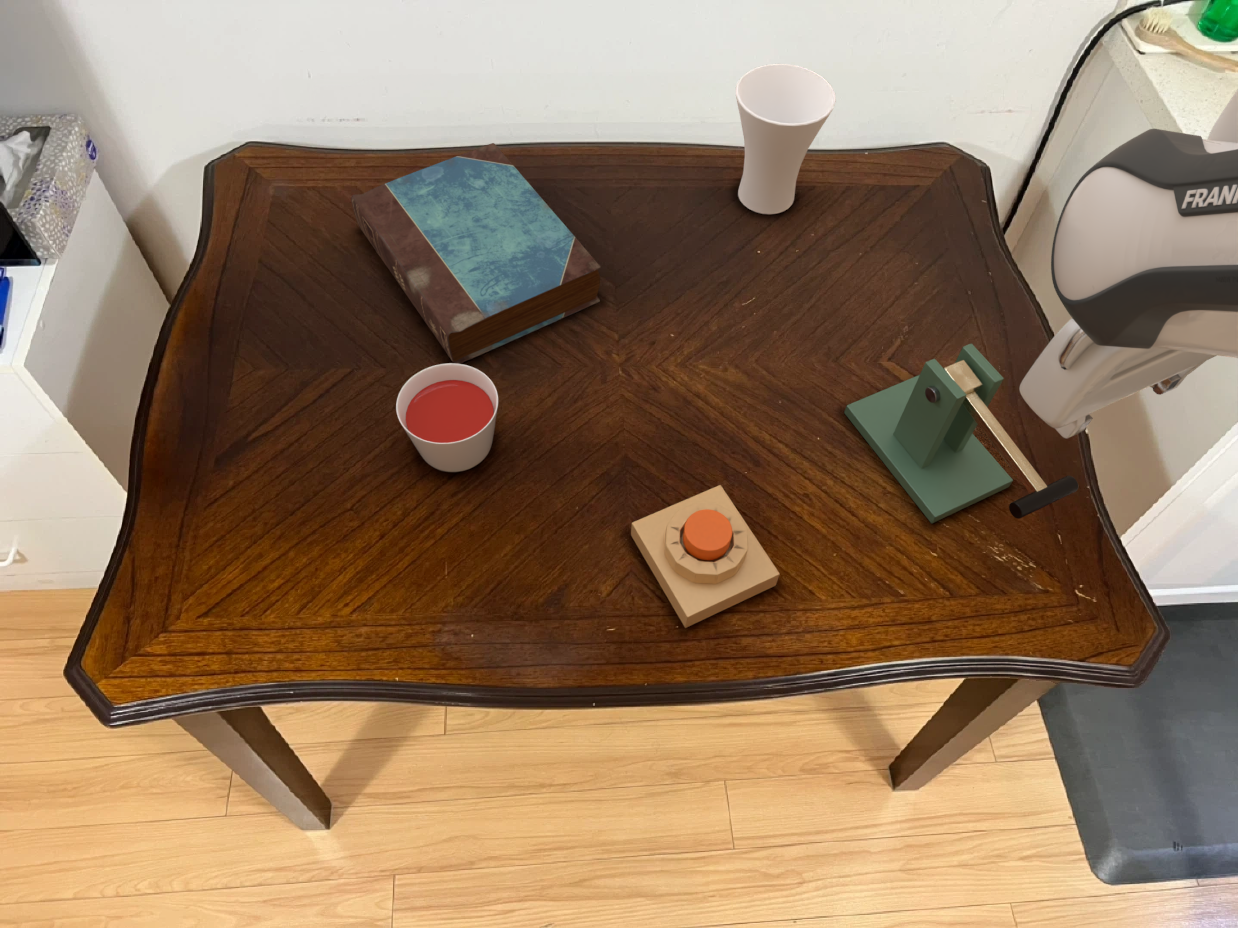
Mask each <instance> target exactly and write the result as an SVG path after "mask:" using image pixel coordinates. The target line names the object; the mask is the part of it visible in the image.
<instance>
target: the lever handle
mask: <svg viewBox="0 0 1238 928" xmlns="http://www.w3.org/2000/svg"><path fill="white" fill-rule="evenodd" d="M943 368H944V370H945V371H946V372H947V373H948V374H949V375H950V376H951V378H952V379H953V380H954V381H955V382H956V383H957V384H958V385H959V387H960V388H961V389H962V390H963V391H964V392H965V393H966V394H967V395H966V397H965V399H964V401H963V403H962V404H963V405H964V407H965V408H966V409H967V411H968V412H969V413H970V415H971V416H972V417H973V419H974V420H975V421H976V423H977V424H978V425H977V426H978V427H979V428H980V429H981V431H982V433H984V435H985V436H986V437H987V439H988V440H989V441H990V443H991V444H992V445H993V446H994V448H995V449H996V450H997V452H998V453H999V455H1000V456H1001V457H1002V459H1003V460H1004V461H1005V463H1006V464H1007V465H1008V467H1009V468H1010V469H1011V471H1012V473H1014V475H1015V476H1016V477H1017V479H1018V480H1019V482H1020V483H1021V484H1022V486H1023V487H1024V488H1025V489H1026V490H1027V492H1028V494H1026V495H1024V496H1023V497H1020V498H1018V499H1015V500H1013V501H1011V502H1010V503H1009V504H1008V510H1009V512H1010V514H1011V515H1012V517H1013V518H1015V519H1017V520H1019V519H1023V518H1025V517H1027V516H1028V515H1031V514H1033V513H1035V512H1036V511H1038V510H1041V509H1043V508H1045V507H1047V506H1049V505H1051V504H1053V503H1055V502H1057V501H1059V500H1061V499H1063V498H1065V497H1067V496H1069V495H1071V494H1073V493H1077V491H1078V489H1079V483H1078V481H1077V479H1076V478H1075V477H1074V476H1073V475H1065V476H1064V477H1062V478H1059V479H1057V480H1055V481H1053V482H1051V483H1049V484H1046V482H1045V481H1044V480H1043V479H1042V478H1041V476H1040V474H1039V473H1038V472H1037V471H1036V469H1035V468H1034V467H1033V466H1032V464H1031V463H1030V462H1029V460H1028V459H1027V458H1026V456H1025V455H1024V454H1023V452H1022V451H1021V450H1020V448H1019V447H1018V445H1016V443H1015V442H1014V440H1013V439H1012V438H1011V437H1010V435H1009V434H1008V433H1007V432H1006V430H1005V428H1004V427H1003V426H1002V425H1001V424H1000V422H999V421H998V420H997V418H996V417H995V416H994V414H993V413H992V412H991V411H990V409H989V408H988V407H986V405H985V404H984V403H983V401H982V400H981V399H980V397H979V396H978V395H977V393H976V392H977V391H978V390H979V388H980V387H981V386H982V383H981V381H980V380H979V379H978V377H977V376H976V375H975V373H974V372H973V371H972V370H971V368H970V367H969V366H968V364H967V363H966V362H965V360H962V361H959V362H957V363H955V362H954V363H952V364H950V365H947V366H945V367H943Z"/></svg>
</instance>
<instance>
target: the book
mask: <svg viewBox="0 0 1238 928" xmlns="http://www.w3.org/2000/svg"><path fill="white" fill-rule="evenodd" d="M350 199H351V200H350V201H351V206H352V210H353V213H354V216H355V220H356V222H357V225H358V227H359V229H360V230H361V232H362V233H363V235H364V236H365V237H366V239H367V240H368V242H369V243H370V245H371V247H372V248H373V249H374V250H375V252H376V253H377V255H378V256H379V258H380V259H381V260H382V262H383V263H384V265H385V266H386V268H387V269H388V271H389V272H390V273H391V275H392V276H393V278H394V279H395V281H396V282H397V284H398V285H399V286H400V288H401V290H402V291H403V292H404V294H405V295H406V296H407V298H408V299H409V301H410V302H411V304H412V305H413V307H414V308H415V309H416V311H417V312H418V314H419V315H420V317H421V318H422V320H423V321H424V322H425V324H426V326H427V327H428V328H429V330H430V331H431V333H432V334H433V335H434V337H435V338H436V340H437V341H438V342H439V345H440V346H441V347H442V348H443V350H444V352H445V353H446V354H447V356H448V357H449V358H450V360H451V361H452V363H455V364H463V363H464V362H467V361H469V360H472V359H474V358H477V357H479V356H482V355H484V354H485V353H488V352H491V351H493V350H495V349H497V348H499V347H502V346H504V345H506V344H509V343H511V342H513V341H515V340H518V339H519V338H522V337H524V336H526V335H529V334H531V333H533V332H535V331H538V330H540V329H543V328H545V327H547V326H549V325H551V324H554V323H556V322H558V321H560V320H562V319H564V318H566V317H569V316H571V315H574V314H575V313H578V312H580V311H582V310H584V309H587V308H589V307H591V306H594V305H596V304H598V303H600V302H601V299H600V298H599V297H598V294H599V290H600V286H601V276H600V273H599V269H601V265H600V264H599V262H597V261H596V260H595V258H594V257H593V256H592V255H591V254H590V252H589V251H588V250H587V249H586V248H585V246H584V245H582V243H581V242H580V241H579V240H578V239H577V237H576V236H575V235H574V233H572V231H571V230H570V229H569V228H568V227H567V225H565V224H564V222H563V221H562V220H561V219H560V218H559V216H558V215H557V214H556V213H555V212H554V211H553V209H552V208H551V207H550V206H549V205H548V203H546V201H544V199H543V198H542V197H541V196H540V194H539V193H538V192H537V191H536V190H535V189H534V188H533V187H532V185H531V184H530V182H529V181H528V180H527V179H526V178H525V177H524V176H523V175H522V173H520V171H519V170H518V169H517V168H516V167H515V165H514V164H513V163H512V162H511V160H510V159H508V157H507V156H506V155H505V154H504V153H503V152H502V150H501V149H500V148H499V146H498V145H497V144H495V142H492V143H489V144H486V145H483V146H480V147H478V148H475V149H472V150H471V151H467V152H464V153H462V154H459V155H457V156H453V157H450V158H448V159H445V160H443V161H441V162H438V163H436V164H433V165H430V166H427V167H424V168H422V169H419V170H416V171H414V172H411V173H409V174H406V175H403V176H401V177H398V178H395V179H393V180H391V181H388V182H386V183H383V184H381V185H379V186H376V187H374V188H371V189H370V190H368V191H366V192H364V193H362V194H352V195H351V198H350Z"/></svg>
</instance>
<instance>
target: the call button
mask: <svg viewBox="0 0 1238 928" xmlns="http://www.w3.org/2000/svg"><path fill="white" fill-rule="evenodd" d="M705 509H709V510H715V511H717V512H720V513H721V514H723V515H724V516H725V517H726V518H727V519H728V520H729V522H730V524H731V526H732V538H731V542H730V546H729V548H728V550H727V552H726V553H725V554H724V555H723V556H721V557H720V558H718V559H715V560H701V559H698V558H696V557H694V556H692V555H691V554H690V553H689V552H688V551H687V549H686V548H685V546H684V543H683V533H684V527H685V523H686V521H687V519H688V518H689V516H691V515H692V514H693V513H695V512H697V511H699V510H705ZM630 536H631V538H632V539H633V541H634V543H635V545H636V547H637V548H638V550H639V552H640V553H641V555H642V557H643V558H644V560H645V562H646V564H647V565H648V567H649V569H650V571H651V572H652V574H653V576H654V577H655V579H656V580H657V582H658V584H659V586H660V588H661V589H662V591H663V593H664V594H665V596H666V597H667V599H668V602H669V603H670V605H671V606H672V608H673V609H674V611H675V613H676V615H677V617H678V619H679V620H680V622H681V623H682V625H683V627H684V629H687V628H688V627H690V626H693V625H695V624H697V623H699V622H702V621H703V620H706V619H708V618H710V617H712V616H714V615H716V614H719V613H720V612H723V611H725V610H727V609H729V608H731V607H733V606H735V605H737V604H739V603H742V602H744V601H746V600H748V599H750V598H753V597H754V596H757V595H759V594H761V593H763V592H765V591H767V590H769V589H771V588H773V587H776V585H777V583H778V581H779V577H780V574H781V573H780V572H779V570H778V569H777V567H776V566H775V564H774V563H773V561H772V560H771V558H770V556H769V555H768V554H767V552H766V551H765V550H764V548H763V546H762V545H761V543H760V541H759V540H758V539H757V537H756V536H755V534H754V533H753V532H752V530H751V528H750V527H749V526H748V524H747V522H746V521H745V519H744V518H743V516H742V515H741V513H740V512H739V511H738V509H737V508H736V506H735V504H734V503H733V501H732V500H731V498H730V497H729V495H728V494H727V492H726V491H725V490H724V488H723V486H722V485H721V484H719V485H717V486H715V487H714V486H713V487H712V488H710V489H707V490H704V491H703V492H700V493H698V494H695V495H693V496H690V497H688V498H686V499H684V500H682V501H679V502H676V503H674V504H672V505H670V506H667V507H665V508H663V509H661V510H658V511H656V512H654V513H651V514H649V515H647V516H644V517H642V518H640V519H638V520H635V521H633V522H631V528H630Z"/></svg>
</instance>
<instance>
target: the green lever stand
mask: <svg viewBox="0 0 1238 928" xmlns="http://www.w3.org/2000/svg"><path fill="white" fill-rule="evenodd" d="M962 360H965V362H966V363H967V364H968V366H969V367H970V368H971V370H972V371H973V372H974V373H975V375H976V376H977V377H978V379H979V380H980V381H981V383H982V386H981V387H980V388H979V390H978V391H977V392H976V393H977V395H978V396H979V397H980V399H981V400H982V401H983V403H984V404H985V405H986V407H987V408H988V407H989V405H990V404H991V402H992V400H993V399H994V397H995V395H996V393H997V392H998V390H999V388H1000V386H1001V385H1002V382H1003V381H1004V379H1005V377H1003V376H1002V374H1000V373H999V371H998V370H997V369H996V368H995V367H994V366H993V365H992V364H991V363H990V362H989V360H987V358H986V357H985V356H984V355H983V354H982V353H981V352H980V351H979V350H978V349H977V347H976V346H975V345H974V344H973V343H969V344H966V345H963V346H962V348H961V350H960V351H959V354H958V356H957V358H956V360H955V362H954V363H957V362H959V361H962ZM944 368H945V367H943V366H942V365H941V364H940V363H939V362H938V361H937V359H936V358H932V359H930V360H928V361H925V363H924V365H923V367H922V368H921V371H920V373H919V374H918V375H916V376H913V377H910V378H908V379H907V380H904V381H902V382H899V383H897V384H895V385H891V386H890V387H887V388H885V389H883V390H879V391H878V392H874V393H873V394H870V395H869V396H865V397H864V398H861V399H859V400H857V401H854V402H852V403H849V404H847V405H846V406H845V409H844V411H843V413H844V415H845V416H846V417H847V419H848V420H849V421H850V423H852V426H854V427H855V429H856V430H857V431H858V432H859V434H860V435H861V436H862V438H863V439H864V440H865V441H866V443H867V444H868V445H869V446H870V448H871V449H872V451H873V452H874V453H875V454H876V455H877V457H878V458H879V459H880V460H881V462H882V463H883V464H884V466H885V467H886V468H887V469H888V470H889V472H890V473H891V474H892V476H893V477H894V478H895V480H896V481H897V482H898V483H899V484H900V486H901V487H902V488H903V489H904V491H905V492H906V493H907V494H908V496H909V497H910V499H911V500H912V501H913V502H914V503H915V505H916V506H917V507H918V509H919V510H920V511H921V512H922V513H923V515H924V516H925V518H926V519H927V520H928V522H930V524H934V523H936V522H938V521H940V520H942V519H945V518H947V517H948V516H951V515H953V514H955V513H957V512H959V511H961V510H964V509H965V508H968V507H970V506H972V505H974V504H977V503H978V502H981V501H982V500H985V499H987V498H989V497H991V496H993V495H995V494H997V493H1000V492H1002V491H1003V490H1006V489H1008V488H1009V487H1010V486H1011V485H1012V483H1013V481H1014V480H1013V478H1012V477H1011V476H1010V475H1009V473H1007V471H1006V470H1005V469H1004V468H1003V467H1002V466H1001V464H1000V463H999V462H998V461H997V460H996V459H995V457H994V456H993V455H992V453H990V452H989V451H988V449H987V448H986V447H985V446H984V445H983V443H982V442H981V441H980V440H979V439H978V438H977V437H976V436H975V435H974V432H975V430H976V428H977V426H979V425H978V424H977V423H976V421H975V420H974V419H973V417H972V416H971V415H970V413H969V412H968V411H967V409H966V408H965V407H964V405H963V404H962V403H963V401H964V399H965V397H966V395H967V394H966V393H965V392H964V391H963V390H962V389H961V388H960V387H959V385H958V384H957V383H956V382H955V381H954V380H953V379H952V378H951V376H950V375H949V374H948V373H947V372H946V371H945V370H944Z"/></svg>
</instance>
